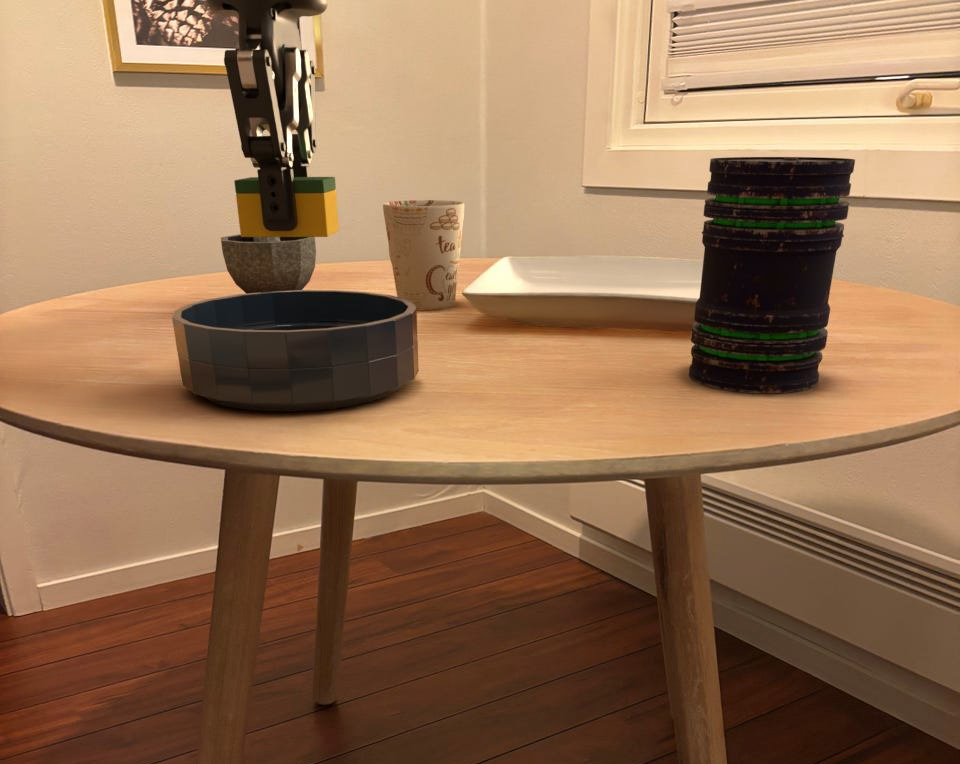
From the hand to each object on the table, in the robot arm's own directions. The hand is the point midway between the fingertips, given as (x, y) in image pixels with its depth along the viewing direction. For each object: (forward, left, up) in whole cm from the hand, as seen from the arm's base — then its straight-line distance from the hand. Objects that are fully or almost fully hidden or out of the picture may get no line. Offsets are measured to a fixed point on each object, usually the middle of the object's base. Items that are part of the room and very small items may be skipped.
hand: (289, 225), depth 66 cm
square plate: (+25, +33, -11) cm, 43 cm away
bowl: (0, 0, -11) cm, 11 cm away
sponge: (0, 0, -1) cm, 1 cm away
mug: (+4, +37, -11) cm, 39 cm away
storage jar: (+34, +4, -11) cm, 36 cm away
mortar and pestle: (-11, +34, -11) cm, 37 cm away
